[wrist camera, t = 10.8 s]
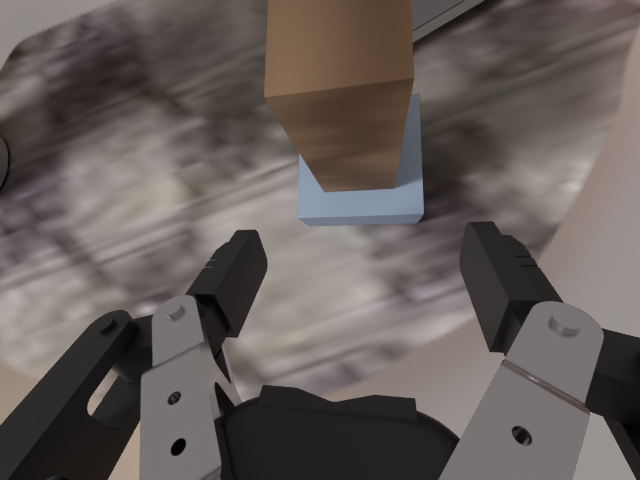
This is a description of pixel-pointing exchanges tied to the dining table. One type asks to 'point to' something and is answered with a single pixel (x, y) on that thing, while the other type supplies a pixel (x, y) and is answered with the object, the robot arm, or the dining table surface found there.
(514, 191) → the dining table surface
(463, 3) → the digital clock
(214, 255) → the robot arm
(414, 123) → the pedestal
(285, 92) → the walnut pillar
